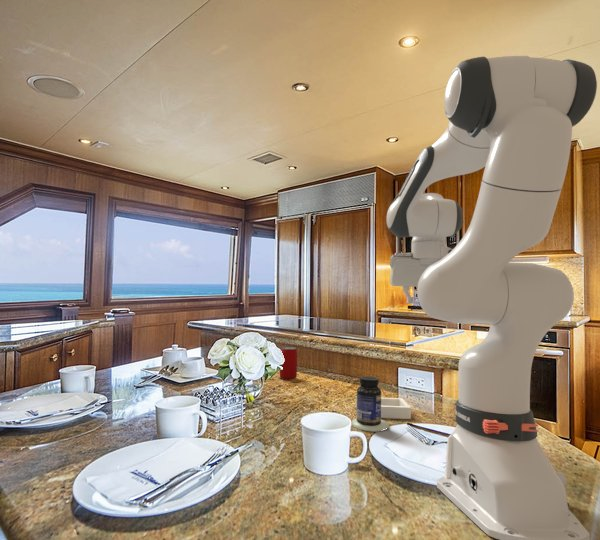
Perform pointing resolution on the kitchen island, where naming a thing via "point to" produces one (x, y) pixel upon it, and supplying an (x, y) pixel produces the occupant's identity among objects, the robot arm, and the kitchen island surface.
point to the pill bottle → (369, 402)
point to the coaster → (370, 428)
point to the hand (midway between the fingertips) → (427, 304)
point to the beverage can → (289, 363)
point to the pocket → (395, 408)
